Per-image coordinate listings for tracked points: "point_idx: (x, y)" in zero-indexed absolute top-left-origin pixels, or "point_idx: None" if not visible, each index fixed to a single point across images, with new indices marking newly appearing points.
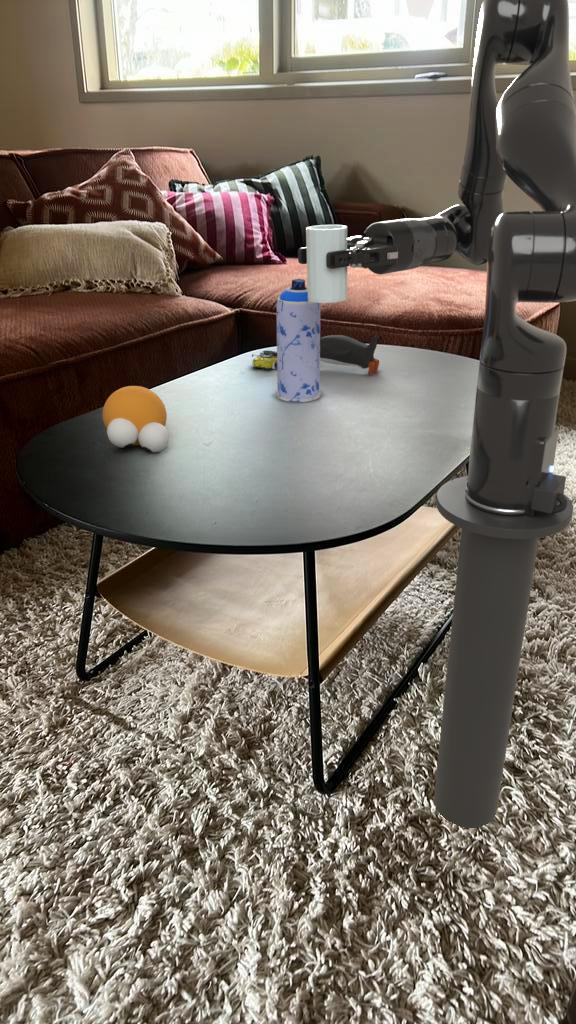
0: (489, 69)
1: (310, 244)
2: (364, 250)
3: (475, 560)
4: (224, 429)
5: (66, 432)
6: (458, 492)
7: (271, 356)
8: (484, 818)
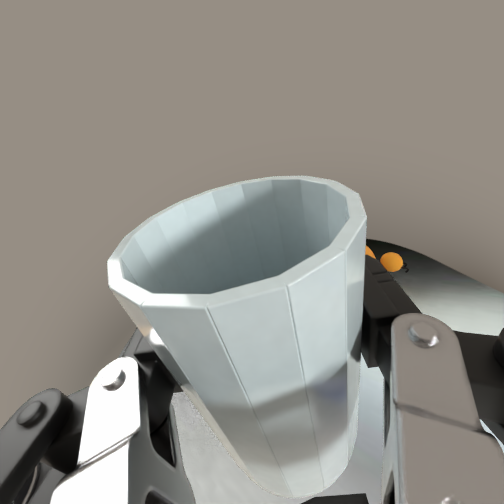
0: None
1: (250, 232)
2: (41, 394)
3: None
4: (362, 357)
5: (395, 252)
6: (48, 470)
7: None
8: None
